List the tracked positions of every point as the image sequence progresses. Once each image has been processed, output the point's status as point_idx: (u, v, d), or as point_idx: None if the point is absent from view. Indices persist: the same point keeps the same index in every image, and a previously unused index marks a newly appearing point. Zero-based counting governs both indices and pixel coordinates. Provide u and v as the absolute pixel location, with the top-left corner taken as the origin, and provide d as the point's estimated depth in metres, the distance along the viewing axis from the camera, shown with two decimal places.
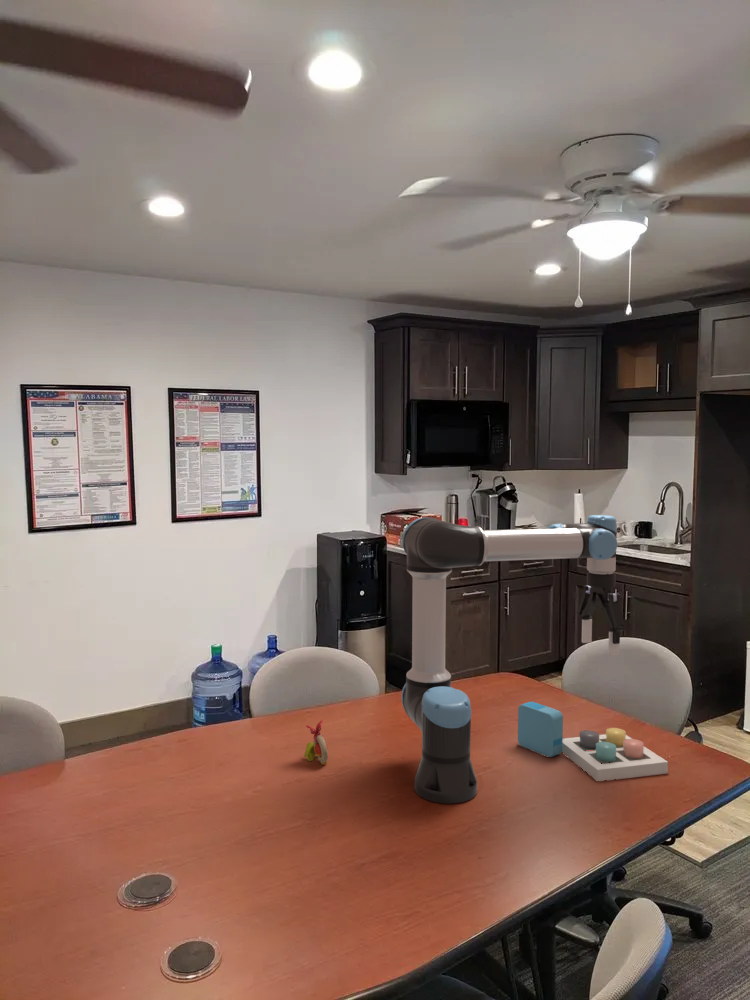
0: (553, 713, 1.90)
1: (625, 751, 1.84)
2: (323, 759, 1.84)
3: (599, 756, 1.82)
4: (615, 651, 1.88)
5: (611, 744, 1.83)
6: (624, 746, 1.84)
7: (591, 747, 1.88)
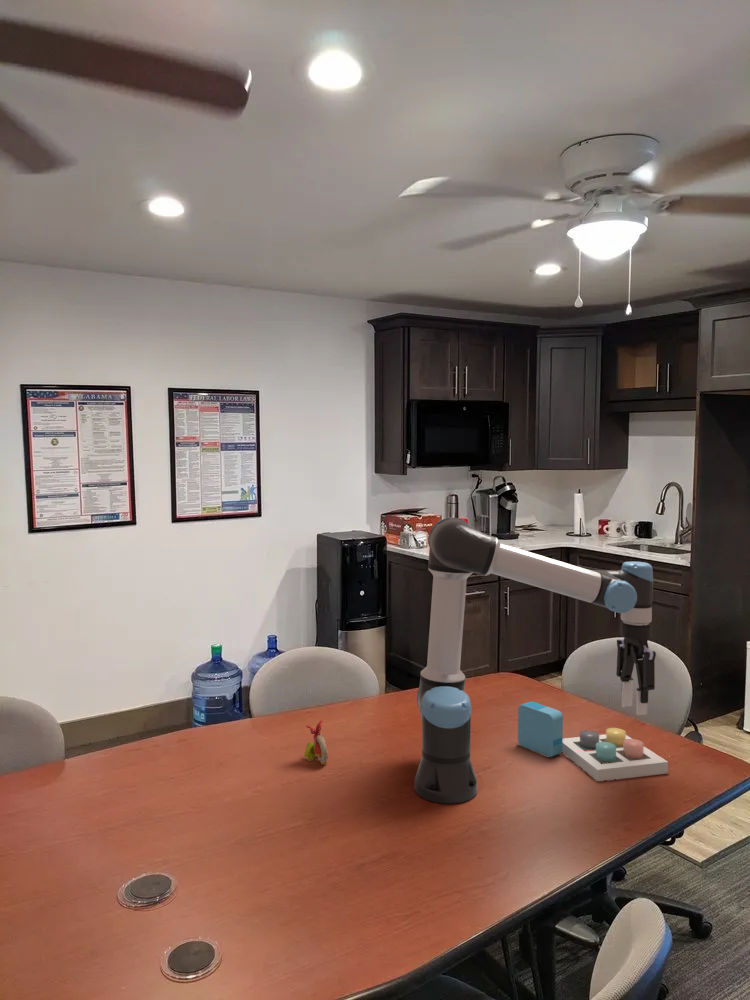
0: (553, 713, 1.90)
1: (625, 751, 1.84)
2: (323, 759, 1.84)
3: (599, 756, 1.82)
4: (643, 710, 1.81)
5: (611, 744, 1.83)
6: (624, 746, 1.84)
7: (591, 747, 1.88)
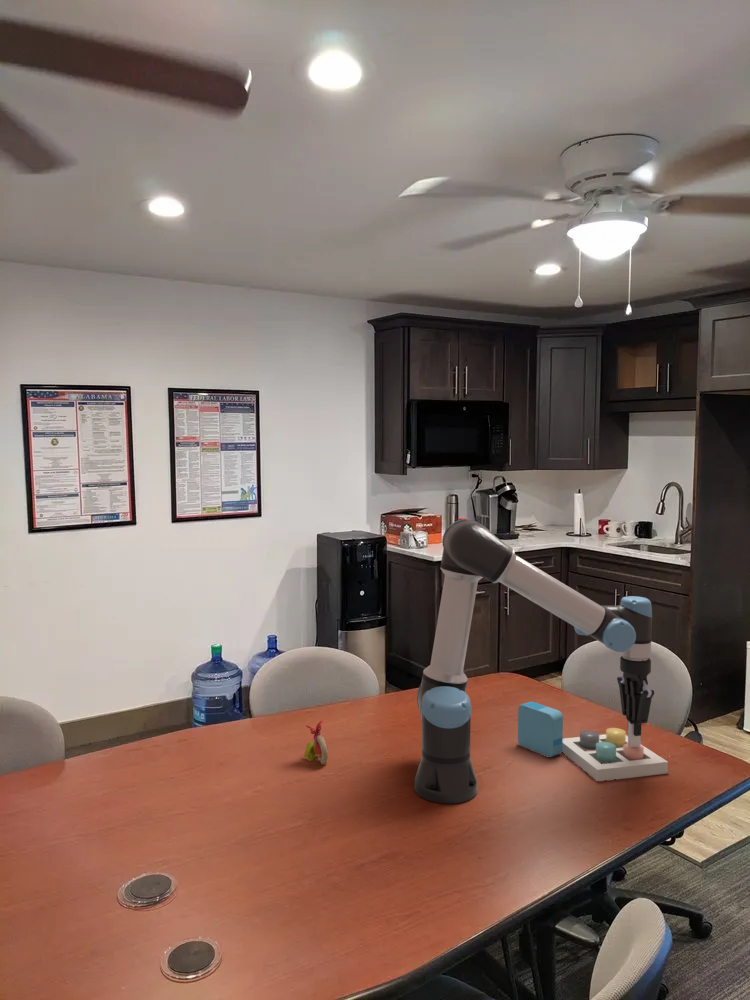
0: (553, 713, 1.90)
1: (625, 755, 1.84)
2: (323, 759, 1.84)
3: (599, 756, 1.82)
4: (636, 743, 1.84)
5: (611, 744, 1.83)
6: (624, 751, 1.85)
7: (591, 747, 1.88)
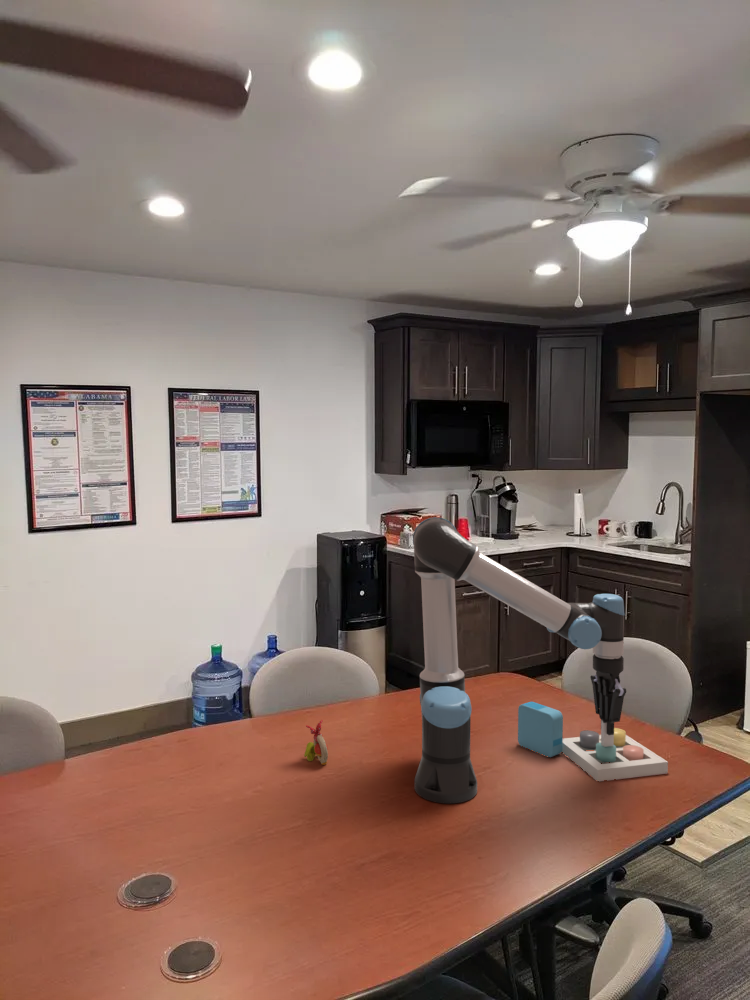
0: (553, 713, 1.90)
1: (625, 757, 1.84)
2: (323, 759, 1.84)
3: (599, 757, 1.82)
4: (609, 742, 1.82)
5: None
6: (624, 752, 1.85)
7: (591, 747, 1.88)
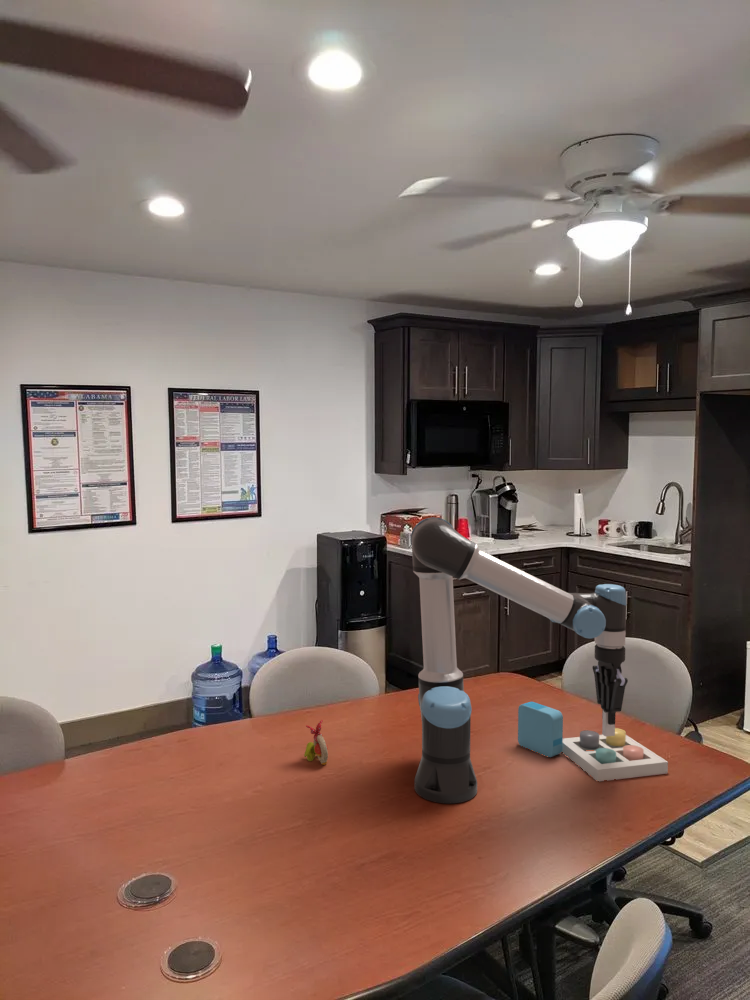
0: (553, 713, 1.90)
1: (625, 757, 1.84)
2: (323, 759, 1.84)
3: None
4: (611, 731, 1.83)
5: (611, 750, 1.84)
6: (624, 752, 1.85)
7: (591, 747, 1.88)
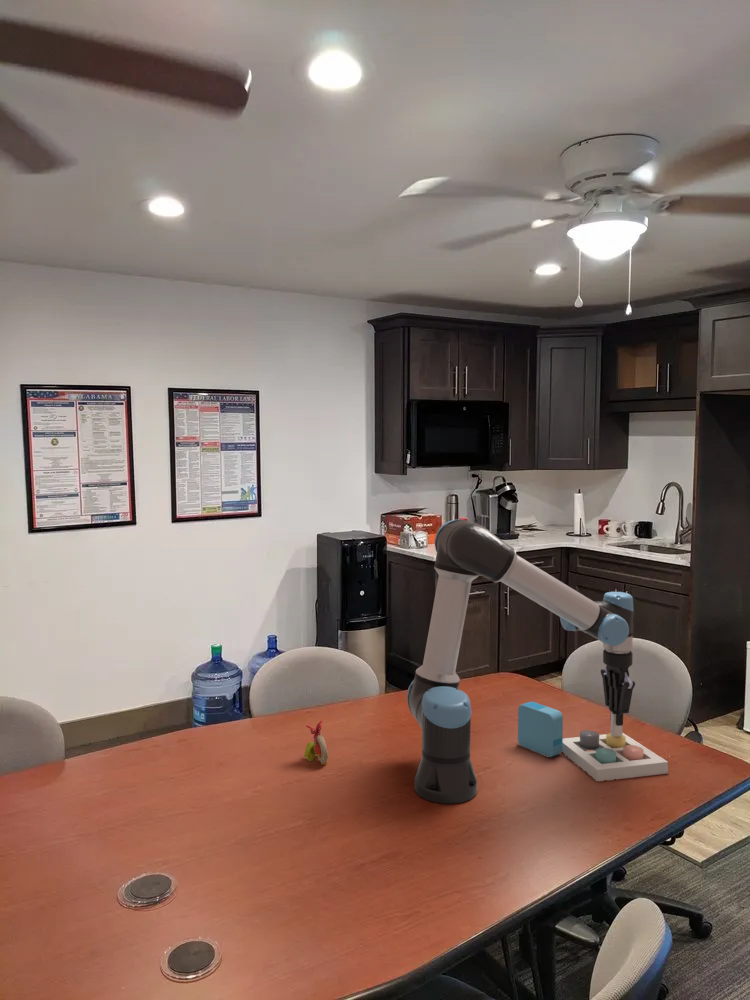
0: (553, 713, 1.90)
1: (625, 757, 1.84)
2: (323, 759, 1.84)
3: None
4: (618, 732, 1.92)
5: (611, 750, 1.84)
6: (624, 752, 1.85)
7: (591, 747, 1.88)
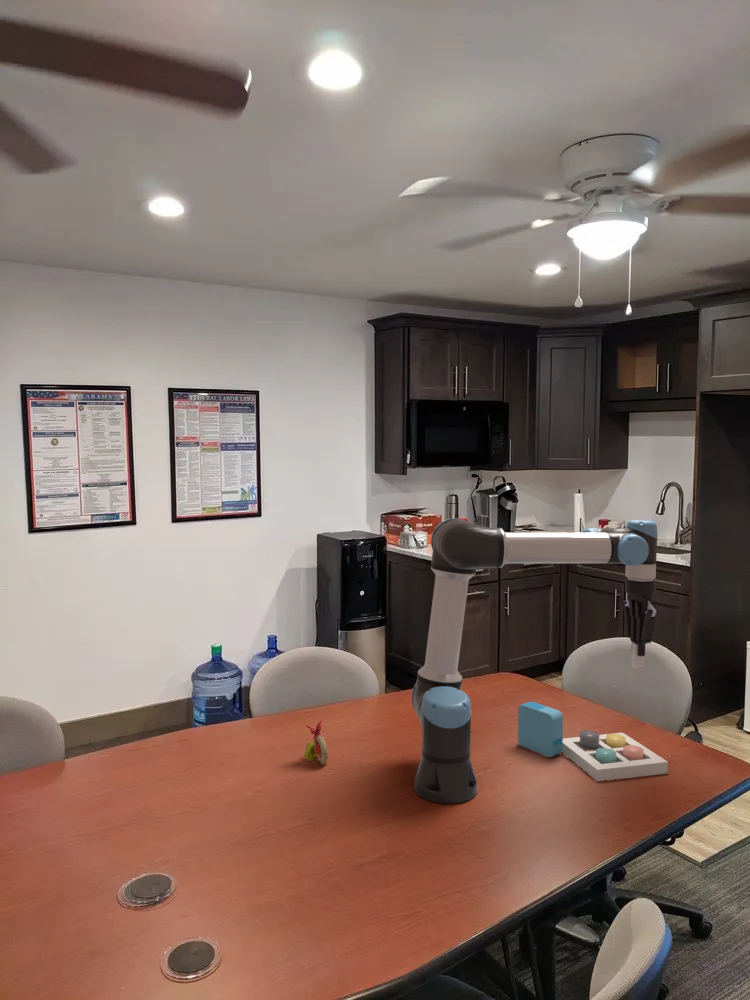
0: (553, 713, 1.90)
1: (625, 757, 1.84)
2: (323, 759, 1.84)
3: None
4: (640, 663, 1.87)
5: (611, 750, 1.84)
6: (624, 752, 1.85)
7: (591, 747, 1.88)
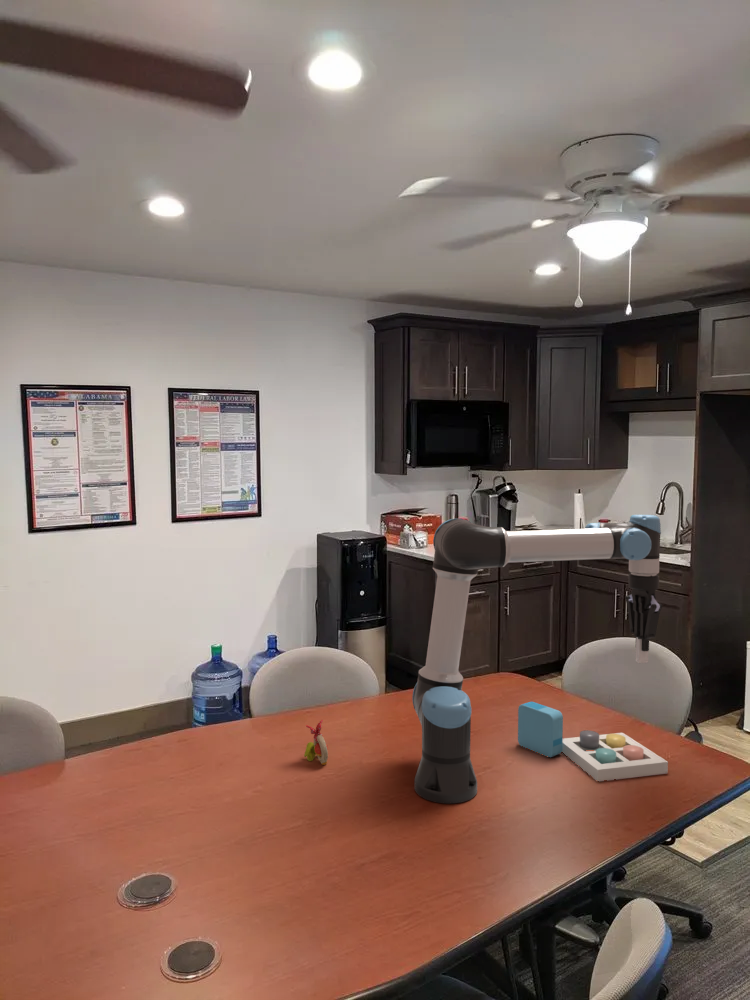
0: (553, 713, 1.90)
1: (625, 757, 1.84)
2: (323, 759, 1.84)
3: None
4: (644, 658, 1.87)
5: (611, 750, 1.84)
6: (624, 752, 1.85)
7: (591, 747, 1.88)
